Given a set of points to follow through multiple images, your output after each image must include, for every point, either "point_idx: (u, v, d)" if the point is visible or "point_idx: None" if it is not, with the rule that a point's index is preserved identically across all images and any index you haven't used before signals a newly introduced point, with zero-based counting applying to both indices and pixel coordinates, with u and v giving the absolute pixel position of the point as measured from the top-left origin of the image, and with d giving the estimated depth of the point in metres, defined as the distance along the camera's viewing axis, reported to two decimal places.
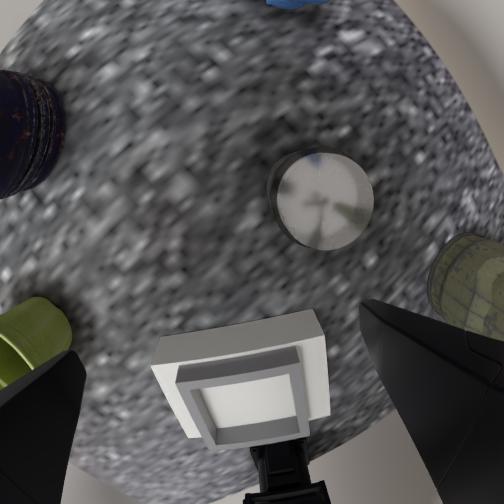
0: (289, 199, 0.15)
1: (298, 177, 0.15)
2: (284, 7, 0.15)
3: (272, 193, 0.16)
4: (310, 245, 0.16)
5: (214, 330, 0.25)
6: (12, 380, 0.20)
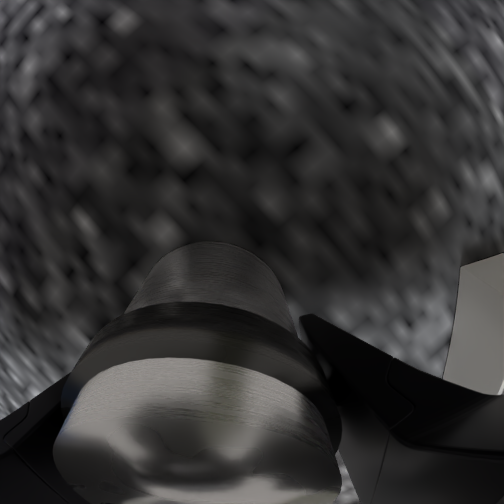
0: None
1: None
2: None
3: None
4: None
5: None
6: None
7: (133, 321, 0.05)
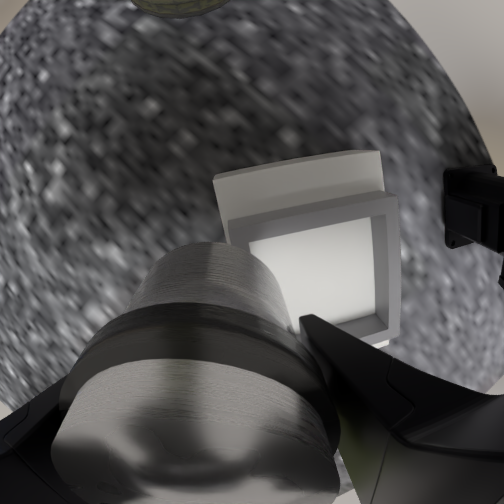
0: None
1: None
2: None
3: None
4: None
5: None
6: None
7: (131, 322, 0.05)
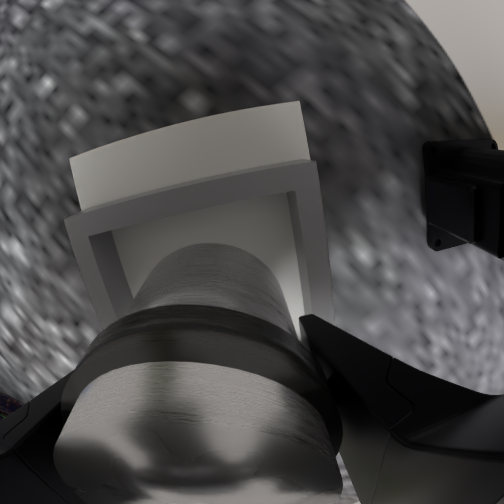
0: None
1: None
2: None
3: None
4: None
5: None
6: None
7: (133, 324, 0.05)
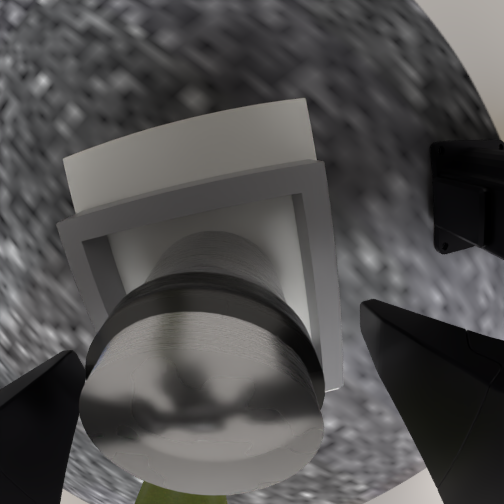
0: (201, 488, 0.06)
1: (155, 477, 0.06)
2: None
3: None
4: (304, 462, 0.06)
5: None
6: None
7: (153, 287, 0.06)
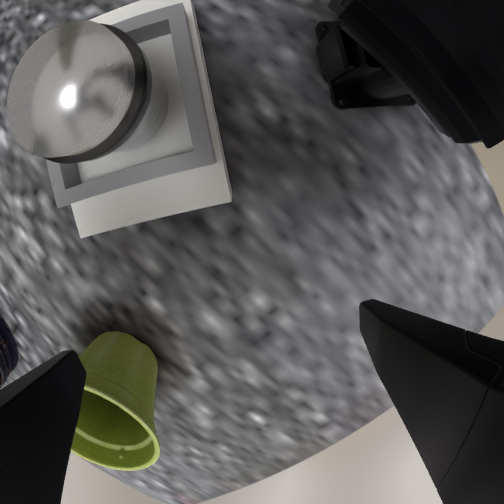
0: (53, 144, 0.08)
1: (29, 137, 0.08)
2: None
3: (67, 162, 0.10)
4: (114, 98, 0.08)
5: None
6: (147, 430, 0.19)
7: None
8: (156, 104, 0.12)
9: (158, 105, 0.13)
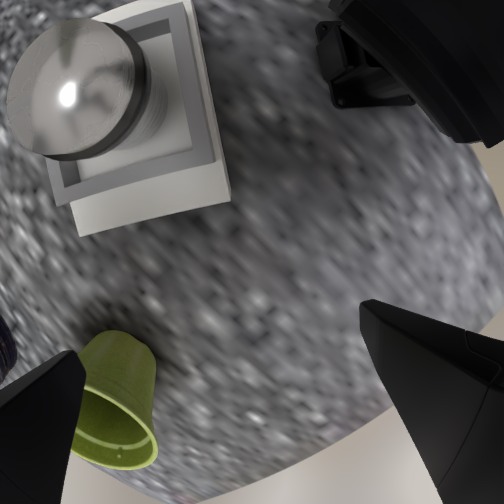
0: (52, 141, 0.08)
1: (28, 134, 0.08)
2: None
3: (66, 160, 0.10)
4: (114, 96, 0.08)
5: None
6: None
7: None
8: (156, 103, 0.12)
9: (158, 104, 0.13)
